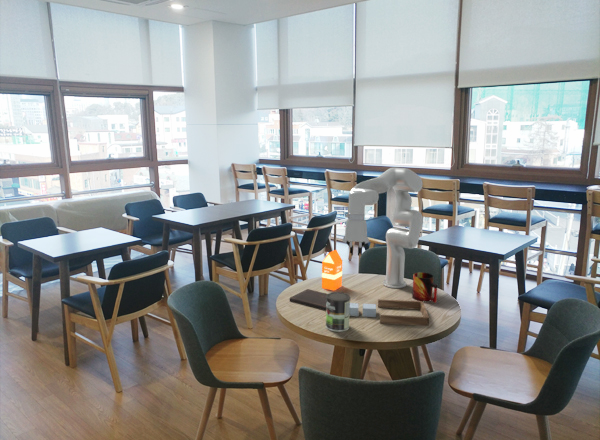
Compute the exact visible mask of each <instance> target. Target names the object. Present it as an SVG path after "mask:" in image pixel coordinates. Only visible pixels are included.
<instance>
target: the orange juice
mask: <svg viewBox="0 0 600 440" xmlns="http://www.w3.org/2000/svg"><path fill="white" fill-rule="evenodd" d="M321 265H322V266H321V267H322V268H321V289H325V290H331V291H336V290H337V289H339V288H341V287H342V286H343V284H342V283H343V281H342V280H343V259H342V258H341V255H340V254H339V251H338V250H337V249H334V250H332V251H329V252H328V253H327V255H326V256H325V257H324V259H323V260H322V262H321Z"/></svg>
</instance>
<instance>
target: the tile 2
mask: <svg viewBox="0 0 600 440" xmlns="http://www.w3.org/2000/svg"><path fill="white" fill-rule="evenodd" d="M362 317H370V318H371V317H372V318H373V317H374V318H377V304H375V303H362Z"/></svg>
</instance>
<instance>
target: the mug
mask: <svg viewBox="0 0 600 440" xmlns="http://www.w3.org/2000/svg"><path fill="white" fill-rule="evenodd" d="M412 275H413V277H412V295H411V297H412V299H413V301H424V302H425V301H426V302H433V303H437V299H438V298H437V297H438V296H437V295H438V284H435V283H434V275H433V274H431V273H428V272H415V273H413V274H412ZM430 300H431V301H430ZM424 302H423V303H424Z"/></svg>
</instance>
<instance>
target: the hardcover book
mask: <svg viewBox="0 0 600 440" xmlns="http://www.w3.org/2000/svg"><path fill="white" fill-rule="evenodd" d="M327 294H328V293H325V292H322V291H317V290H314V289H313V290H312V289H309V288H307V289H305V290H303V291H301V292H299V293H296V294H295V295H293V296H290V297H289V302H292V303H295V304H298V305H302V306H307V307H310V308H314V309H318V310H322V311H325V312H326V295H327Z"/></svg>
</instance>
